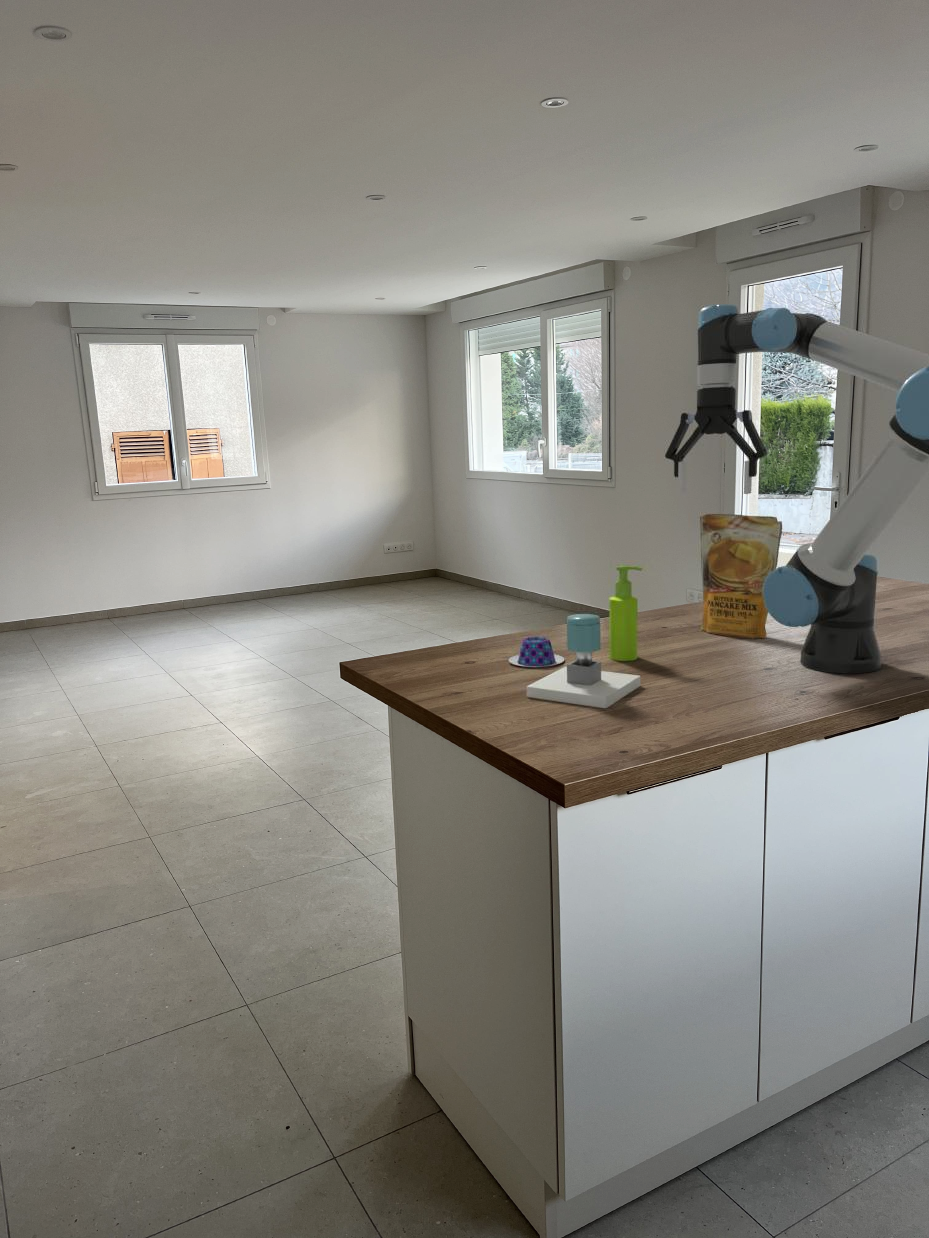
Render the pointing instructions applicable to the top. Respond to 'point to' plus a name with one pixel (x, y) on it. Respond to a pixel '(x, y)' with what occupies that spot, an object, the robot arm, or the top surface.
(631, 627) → the soap dispenser
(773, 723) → the top surface
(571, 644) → the cap
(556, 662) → the patterned brimmed hat
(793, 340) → the robot arm
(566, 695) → the post base
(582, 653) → the post
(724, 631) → the pancake mix bag
